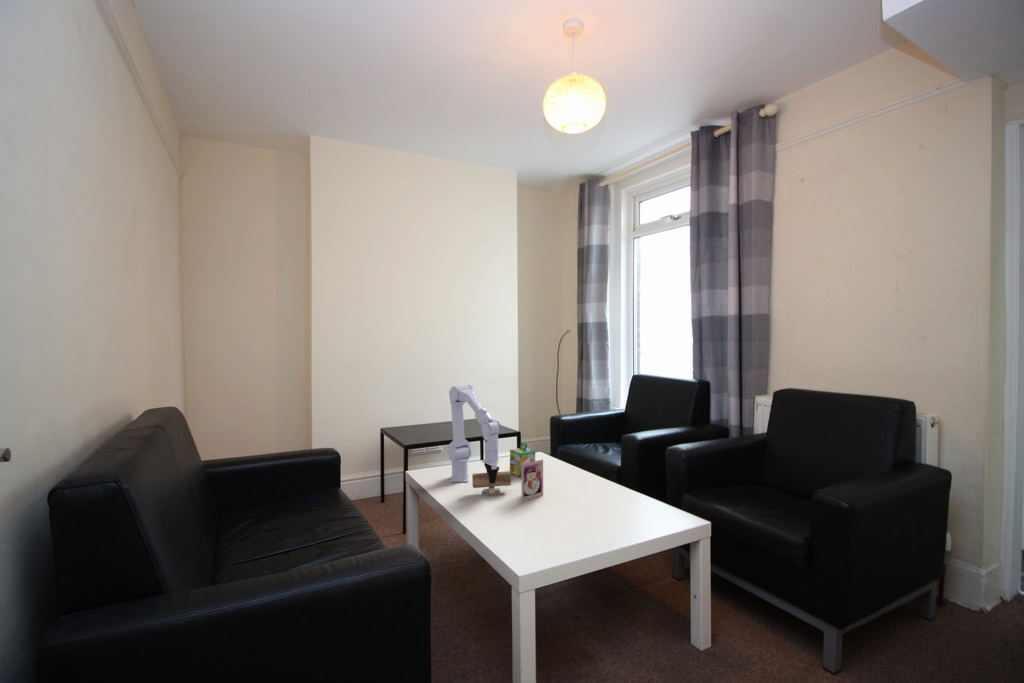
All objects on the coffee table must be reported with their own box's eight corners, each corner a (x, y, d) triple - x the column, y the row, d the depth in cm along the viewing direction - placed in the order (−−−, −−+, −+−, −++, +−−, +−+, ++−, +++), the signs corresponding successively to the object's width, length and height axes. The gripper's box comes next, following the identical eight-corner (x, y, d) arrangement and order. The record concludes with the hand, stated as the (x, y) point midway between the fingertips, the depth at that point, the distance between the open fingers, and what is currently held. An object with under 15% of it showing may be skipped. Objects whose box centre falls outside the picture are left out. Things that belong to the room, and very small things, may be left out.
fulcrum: (483, 490, 201) (483, 484, 201) (499, 489, 202) (499, 484, 202) (483, 495, 195) (483, 489, 195) (500, 494, 196) (500, 488, 196)
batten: (472, 485, 199) (472, 473, 199) (509, 482, 202) (509, 471, 202) (473, 488, 195) (473, 476, 195) (510, 485, 199) (510, 473, 198)
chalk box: (509, 473, 226) (509, 443, 226) (524, 470, 232) (523, 440, 231) (520, 478, 219) (520, 446, 218) (536, 474, 224) (535, 443, 224)
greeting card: (522, 501, 188) (522, 464, 188) (512, 496, 194) (511, 460, 194) (544, 495, 194) (544, 459, 194) (533, 490, 200) (533, 456, 200)
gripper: (479, 446, 205) (480, 477, 205) (484, 454, 191) (484, 487, 191) (495, 445, 206) (495, 476, 206) (501, 453, 192) (501, 486, 192)
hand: (491, 481), depth 199 cm, fingers closed on batten, 3 cm apart
